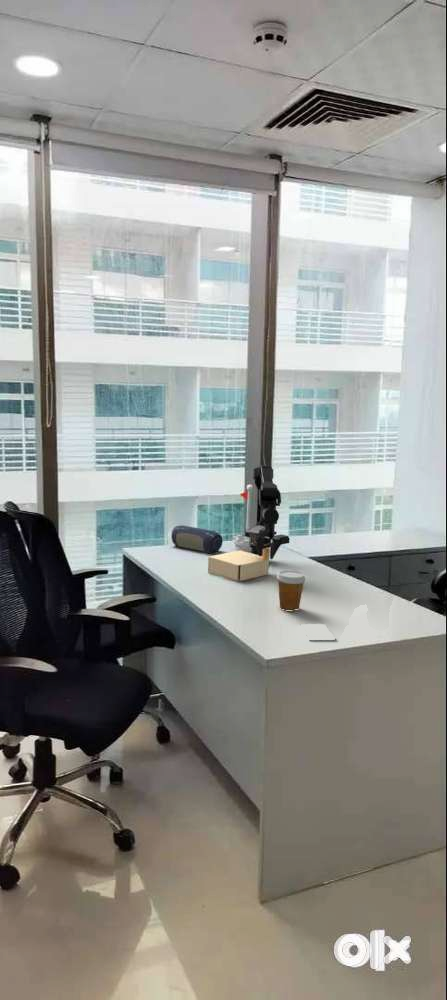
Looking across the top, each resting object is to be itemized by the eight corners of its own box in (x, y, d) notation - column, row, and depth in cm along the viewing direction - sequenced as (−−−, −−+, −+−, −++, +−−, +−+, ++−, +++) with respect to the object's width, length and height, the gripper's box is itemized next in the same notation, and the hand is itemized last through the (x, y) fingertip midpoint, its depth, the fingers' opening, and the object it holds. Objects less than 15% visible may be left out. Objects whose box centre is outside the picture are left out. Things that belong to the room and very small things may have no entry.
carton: (239, 565, 273) (240, 550, 272) (268, 574, 261) (269, 558, 260) (208, 572, 260) (208, 556, 259) (237, 581, 249) (237, 565, 248)
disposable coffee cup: (273, 604, 224) (274, 569, 222) (300, 604, 225) (302, 570, 223) (277, 613, 214) (279, 577, 213) (306, 613, 215) (308, 578, 213)
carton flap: (266, 574, 260) (268, 547, 259) (268, 574, 260) (270, 548, 258) (239, 580, 249) (240, 553, 248) (241, 581, 249) (242, 553, 247)
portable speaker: (167, 547, 301) (167, 525, 299) (180, 543, 309) (181, 522, 307) (211, 556, 287) (212, 533, 285) (224, 552, 295) (225, 530, 294)
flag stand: (266, 548, 306) (269, 484, 301) (252, 553, 295) (255, 487, 290) (241, 544, 312) (244, 481, 307) (227, 549, 301) (230, 484, 296)
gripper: (236, 516, 256) (234, 555, 258) (272, 524, 243) (270, 565, 246) (255, 514, 264) (253, 551, 266) (291, 521, 251) (289, 561, 253)
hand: (265, 557), depth 258 cm, fingers open, 6 cm apart
